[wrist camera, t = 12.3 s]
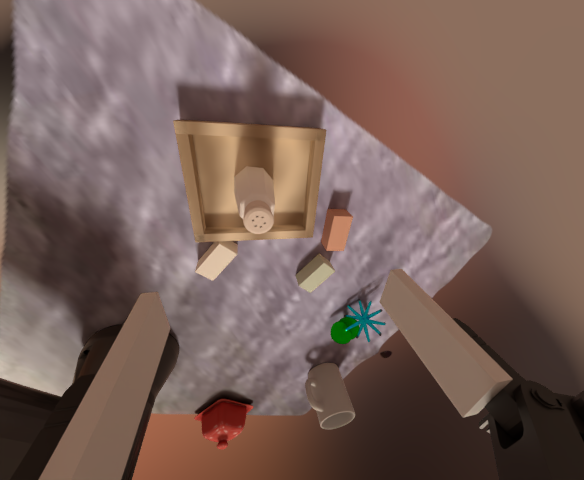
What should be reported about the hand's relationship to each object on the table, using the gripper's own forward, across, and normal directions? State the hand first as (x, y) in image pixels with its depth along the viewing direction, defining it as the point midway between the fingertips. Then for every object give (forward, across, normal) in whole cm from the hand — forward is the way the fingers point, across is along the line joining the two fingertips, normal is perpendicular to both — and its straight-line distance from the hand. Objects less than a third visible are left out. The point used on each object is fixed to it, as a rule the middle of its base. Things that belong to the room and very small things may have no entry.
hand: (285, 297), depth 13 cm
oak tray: (+21, -1, +1) cm, 21 cm away
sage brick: (+21, +9, -15) cm, 27 cm away
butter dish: (+22, -11, -60) cm, 65 cm away
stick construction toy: (+22, +18, -27) cm, 39 cm away
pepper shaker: (+20, -1, +1) cm, 20 cm away
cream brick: (+21, -7, -10) cm, 25 cm away
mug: (+21, +14, -50) cm, 56 cm away
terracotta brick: (+21, +12, -6) cm, 25 cm away
